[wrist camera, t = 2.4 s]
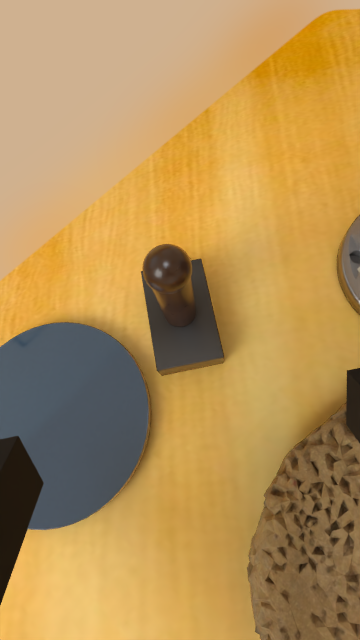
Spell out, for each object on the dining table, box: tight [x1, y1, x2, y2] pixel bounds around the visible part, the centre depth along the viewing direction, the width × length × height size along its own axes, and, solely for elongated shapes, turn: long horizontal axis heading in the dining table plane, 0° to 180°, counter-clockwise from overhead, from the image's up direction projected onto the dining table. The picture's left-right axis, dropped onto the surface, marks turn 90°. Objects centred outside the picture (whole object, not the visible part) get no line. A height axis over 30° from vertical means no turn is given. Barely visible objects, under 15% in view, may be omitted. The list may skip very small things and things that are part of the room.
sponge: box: [247, 402, 360, 640], centre depth 24 cm, size 13×8×20 cm
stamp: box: [141, 244, 224, 375], centre depth 28 cm, size 10×6×13 cm, turn 11°
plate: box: [0, 322, 151, 530], centre depth 31 cm, size 18×18×1 cm
